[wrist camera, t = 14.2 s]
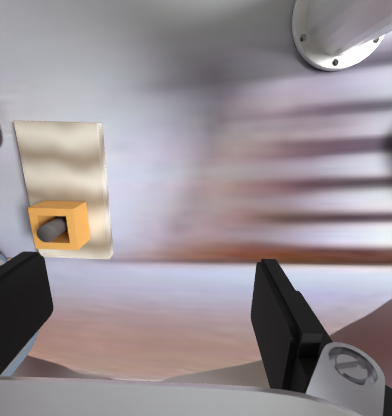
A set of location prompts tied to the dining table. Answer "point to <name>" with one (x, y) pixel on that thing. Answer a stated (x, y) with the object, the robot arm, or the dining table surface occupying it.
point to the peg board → (67, 179)
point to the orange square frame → (75, 223)
